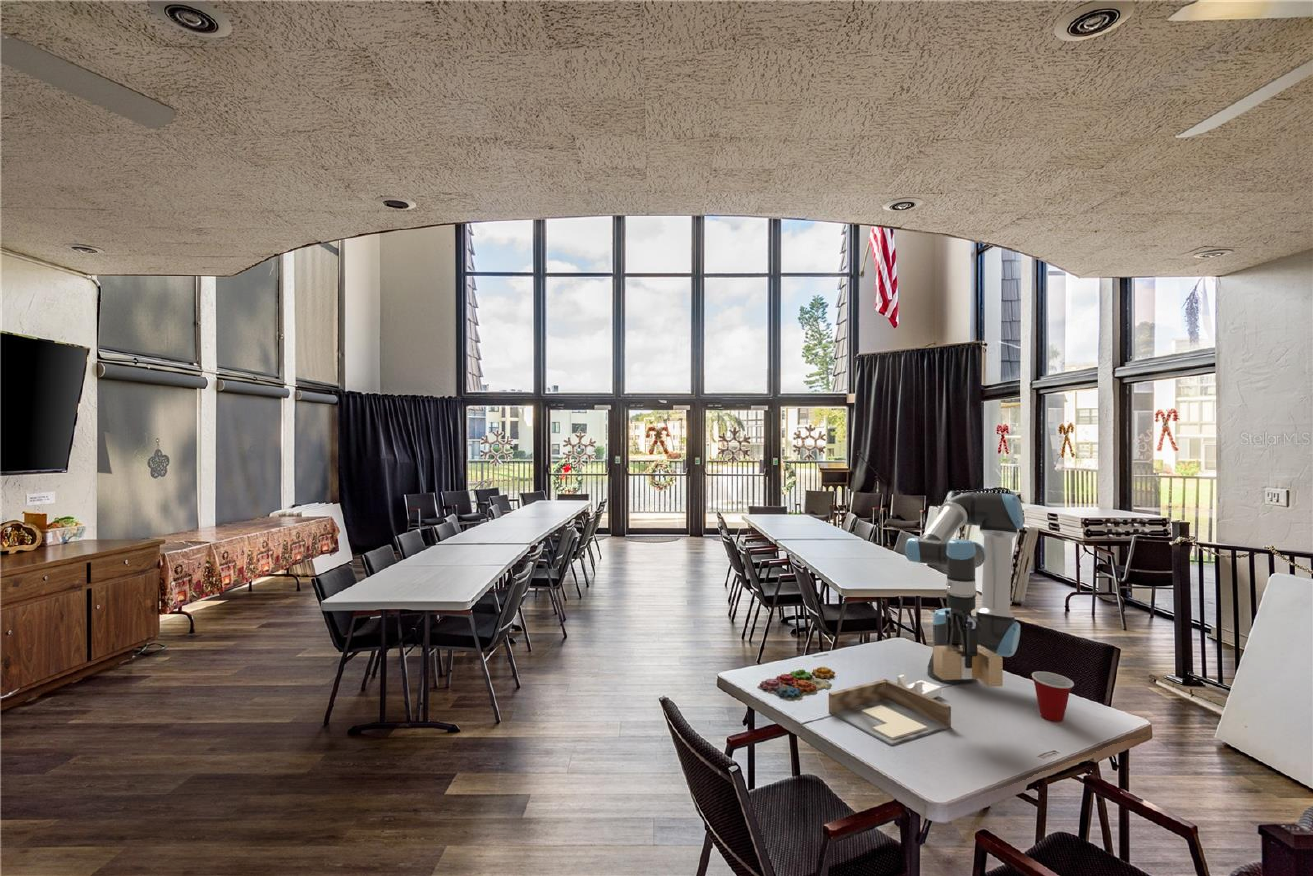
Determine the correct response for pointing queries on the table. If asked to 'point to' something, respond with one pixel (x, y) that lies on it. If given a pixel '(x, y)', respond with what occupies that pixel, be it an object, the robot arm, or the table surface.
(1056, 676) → the plastic cup
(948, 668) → the wooden l-shaped block
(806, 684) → the gear puzzle
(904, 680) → the bracket
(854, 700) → the arena
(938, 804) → the table surface
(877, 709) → the pad
